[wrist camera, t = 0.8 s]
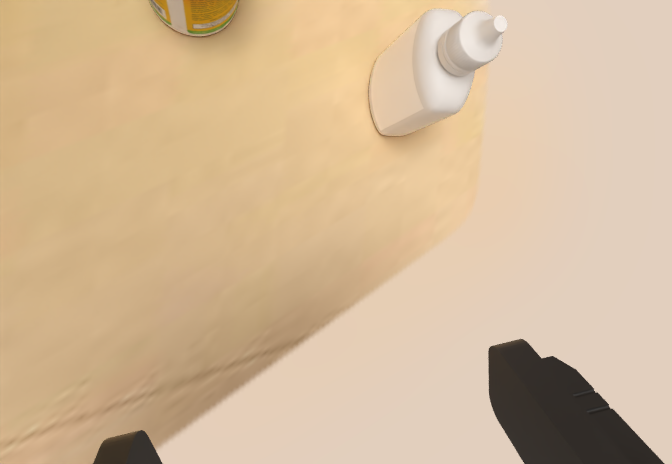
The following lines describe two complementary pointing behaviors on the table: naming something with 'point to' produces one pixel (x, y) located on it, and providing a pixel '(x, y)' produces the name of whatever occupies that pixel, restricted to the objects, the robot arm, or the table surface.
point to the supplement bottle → (195, 15)
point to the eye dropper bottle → (431, 69)
